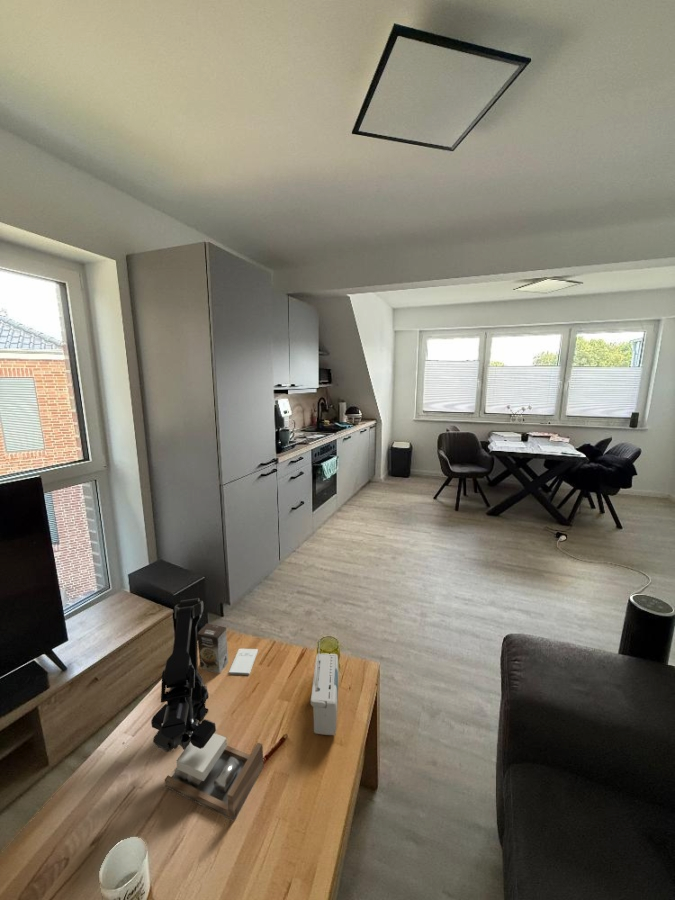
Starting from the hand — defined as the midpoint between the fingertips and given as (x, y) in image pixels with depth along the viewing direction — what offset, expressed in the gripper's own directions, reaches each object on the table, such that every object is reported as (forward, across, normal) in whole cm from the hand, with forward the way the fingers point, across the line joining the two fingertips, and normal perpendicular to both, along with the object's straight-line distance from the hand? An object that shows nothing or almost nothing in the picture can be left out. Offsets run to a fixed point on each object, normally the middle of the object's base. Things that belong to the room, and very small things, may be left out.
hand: (185, 748), depth 104 cm
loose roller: (+5, +14, 0) cm, 15 cm away
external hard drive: (+6, -7, +38) cm, 40 cm away
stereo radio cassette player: (+6, +31, +31) cm, 45 cm away
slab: (+1, +6, 0) cm, 6 cm away
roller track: (+6, +10, 0) cm, 12 cm away
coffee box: (+6, -17, +33) cm, 38 cm away
